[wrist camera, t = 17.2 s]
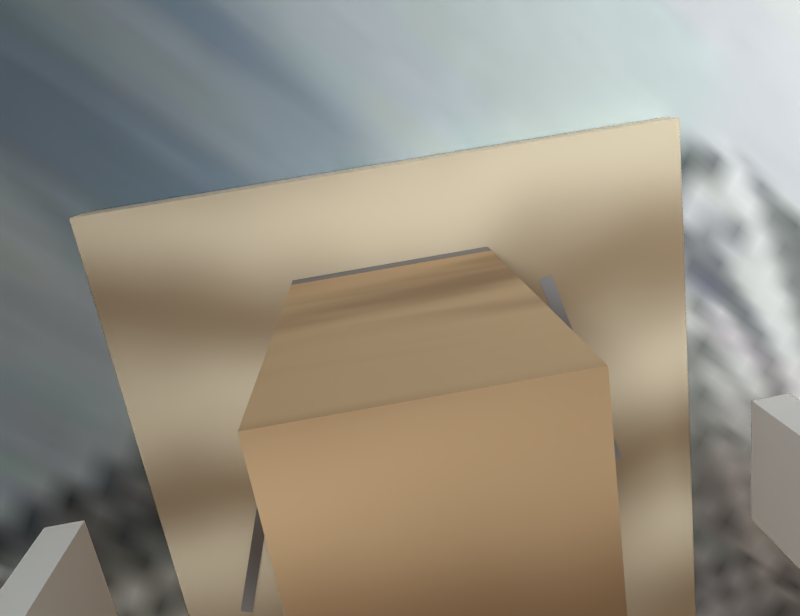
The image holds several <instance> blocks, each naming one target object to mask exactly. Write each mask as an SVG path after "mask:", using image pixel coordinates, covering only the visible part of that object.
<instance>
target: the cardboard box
mask: <svg viewBox="0 0 800 616" xmlns="http://www.w3.org/2000/svg"><path fill="white" fill-rule="evenodd" d="M238 435H239V439H240V443H241V447H242V451H243V454H244V458H245V462H246V466H247V470H248V474H249V478H250V482H251V485H252V489H253V493H254V497H255V501H256V505H257V509H258V512H259V516H260V520H261V524H262V528H263V532H264V536H265V540H266V543H267V547H268V551H269V555H270V559H271V563H272V567H273V570H274V574H275V578H276V582H277V586H278V590H279V594H280V598H281V601H282V605H283V609H284V613H285V616H627V606H626V593H625V579H624V566H623V553H622V540H621V527H620V514H619V501H618V488H617V475H616V462H615V449H614V436H613V423H612V410H611V397H610V384H609V371H608V365H607V364H606V363H605V362H604V361H603V360H602V359H601V358H600V357H599V356H598V355H597V354H596V353H595V352H594V351H593V350H592V349H591V348H590V347H589V346H588V345H587V344H586V343H585V342H584V341H583V340H582V339H581V338H580V337H579V336H578V335H577V334H576V333H575V332H574V331H573V330H572V329H571V328H570V327H568V326H567V325H566V324H565V323H564V322H563V321H562V320H561V319H560V318H559V317H558V316H557V315H556V314H555V313H554V312H553V311H552V310H551V309H550V308H549V307H548V306H547V305H546V304H545V303H544V302H543V301H542V300H541V299H540V298H539V297H538V296H537V295H536V294H535V293H534V292H533V291H532V290H531V289H530V288H529V287H528V286H527V285H526V284H525V283H524V282H523V281H522V280H521V279H520V278H519V277H518V276H517V275H516V274H515V273H514V272H513V271H512V270H511V269H510V268H509V267H508V266H507V265H506V264H505V263H504V262H503V261H502V260H501V259H500V258H499V257H498V256H497V255H496V254H495V253H494V252H493V251H492V250H491V249H490V248H489V247H481V248H475V249H470V250H464V251H458V252H453V253H447V254H441V255H435V256H430V257H424V258H418V259H412V260H407V261H401V262H395V263H389V264H384V265H378V266H372V267H366V268H361V269H355V270H349V271H343V272H338V273H332V274H326V275H321V276H315V277H309V278H303V279H298V280H293V281H292V283H291V286H290V289H289V292H288V294H287V297H286V300H285V303H284V305H283V308H282V311H281V314H280V316H279V319H278V322H277V325H276V327H275V330H274V333H273V336H272V338H271V341H270V344H269V347H268V349H267V352H266V355H265V358H264V360H263V363H262V366H261V369H260V371H259V374H258V377H257V380H256V382H255V385H254V388H253V391H252V393H251V396H250V399H249V402H248V404H247V407H246V410H245V413H244V416H243V418H242V421H241V424H240V427H239V429H238Z"/></svg>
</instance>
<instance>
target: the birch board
mask: <svg viewBox="0 0 800 616" xmlns="http://www.w3.org/2000/svg"><path fill="white" fill-rule="evenodd" d="M69 219H70V223H71V226H72V229H73V233H74V236H75V239H76V243H77V246H78V249H79V253H80V256H81V259H82V263H83V266H84V269H85V272H86V276H87V279H88V282H89V286H90V289H91V292H92V296H93V299H94V302H95V306H96V309H97V312H98V316H99V319H100V322H101V325H102V329H103V332H104V335H105V339H106V342H107V345H108V349H109V352H110V355H111V359H112V362H113V365H114V369H115V372H116V375H117V379H118V382H119V385H120V388H121V392H122V395H123V398H124V402H125V405H126V408H127V412H128V415H129V418H130V422H131V425H132V428H133V432H134V435H135V438H136V442H137V445H138V448H139V451H140V455H141V458H142V461H143V465H144V468H145V471H146V475H147V478H148V481H149V485H150V488H151V491H152V495H153V498H154V501H155V505H156V508H157V511H158V514H159V518H160V521H161V524H162V528H163V531H164V534H165V538H166V541H167V544H168V548H169V551H170V554H171V558H172V561H173V564H174V568H175V571H176V574H177V577H178V581H179V584H180V587H181V591H182V594H183V597H184V601H185V604H186V607H187V611H188V614H189V616H285V613H284V609H283V605H282V601H281V598H280V594H279V590H278V586H277V582H276V578H275V574H274V570H273V567H272V563H271V559H270V555H269V551H268V547H267V543H266V540H265V536H264V532H263V528H262V524H261V520H260V516H259V512H258V509H257V505H256V501H255V497H254V493H253V489H252V485H251V482H250V478H249V474H248V470H247V466H246V462H245V458H244V454H243V451H242V447H241V443H240V439H239V435H238V429H239V427H240V424H241V421H242V418H243V416H244V413H245V410H246V407H247V404H248V402H249V399H250V396H251V393H252V391H253V388H254V385H255V382H256V380H257V377H258V374H259V371H260V369H261V366H262V363H263V360H264V358H265V355H266V352H267V349H268V347H269V344H270V341H271V338H272V336H273V333H274V330H275V327H276V325H277V322H278V319H279V316H280V314H281V311H282V308H283V305H284V303H285V300H286V297H287V294H288V292H289V289H290V286H291V283H292V281H293V280H298V279H303V278H309V277H315V276H321V275H326V274H332V273H338V272H343V271H349V270H355V269H361V268H366V267H372V266H378V265H384V264H389V263H395V262H401V261H407V260H412V259H418V258H424V257H430V256H435V255H441V254H447V253H453V252H458V251H464V250H470V249H475V248H481V247H489V248H490V249H491V250H492V251H493V252H494V253H495V254H496V255H497V256H498V257H499V258H500V259H501V260H502V261H503V262H504V263H505V264H506V265H507V266H508V267H509V268H510V269H511V270H512V271H513V272H514V273H515V274H516V275H517V276H518V277H519V278H520V279H521V280H522V281H523V282H524V283H525V284H526V285H527V286H528V287H529V288H530V289H531V290H532V291H533V292H534V293H535V294H536V295H537V296H538V297H539V298H540V299H541V300H542V301H543V302H544V303H545V304H546V305H547V306H548V307H549V308H550V309H551V310H552V311H553V312H554V313H555V314H556V315H557V316H558V317H559V318H560V319H561V320H562V321H563V322H564V323H565V324H566V325H567V326H568V327H570V328H571V329H572V330H573V331H574V332H575V333H576V334H577V335H578V336H579V337H580V338H581V339H582V340H583V341H584V342H585V343H586V344H587V345H588V346H589V347H590V348H591V349H592V350H593V351H594V352H595V353H596V354H597V355H598V356H599V357H600V358H601V359H602V360H603V361H604V362H605V363H606V364H607V365H608V371H609V384H610V397H611V410H612V423H613V436H614V449H615V462H616V475H617V488H618V501H619V514H620V527H621V540H622V553H623V566H624V579H625V593H626V606H627V616H696V610H695V579H694V549H693V518H692V487H691V457H690V426H689V396H688V365H687V334H686V304H685V273H684V242H683V212H682V181H681V150H680V120H679V118H663V117H661V118H655V119H649V120H643V121H637V122H631V123H625V124H619V125H613V126H607V127H600V128H594V129H588V130H582V131H576V132H570V133H564V134H558V135H552V136H546V137H540V138H534V139H528V140H522V141H515V142H509V143H503V144H497V145H491V146H485V147H479V148H473V149H467V150H461V151H455V152H449V153H443V154H437V155H430V156H424V157H418V158H412V159H406V160H400V161H394V162H388V163H382V164H376V165H370V166H364V167H358V168H352V169H345V170H339V171H333V172H327V173H321V174H315V175H309V176H303V177H297V178H291V179H285V180H279V181H273V182H267V183H260V184H254V185H248V186H242V187H236V188H230V189H224V190H218V191H212V192H206V193H200V194H194V195H188V196H182V197H175V198H169V199H163V200H157V201H151V202H145V203H139V204H133V205H127V206H121V207H115V208H109V209H103V210H97V211H90V212H85V213H82V214H79V215H77V216H74V217H71V218H69Z"/></svg>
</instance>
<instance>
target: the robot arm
mask: <svg viewBox="0 0 800 616" xmlns="http://www.w3.org/2000/svg"><path fill="white" fill-rule="evenodd" d="M751 520H752V521H753V522H754V523H755V524H756V525H757V526H758V527H759V528H760V529H761V530H762V531H763V532H764V533H765V534H766V535H767V536H768V537H769V538H770V539H771V540H772V541H773V542H774V543H775V544H776V545H777V546H778V547H779V548H780V549H781V550H782V551H783V552H784V554H785V555H786V556H787V557H788V558H789V559H790V560H791V561H792V562H793V563H794V564H795V565H796V566H797V567H798V568H799V569H800V400H798V399H797V398H795V397H794V396H792V395H791V394H785V395H779V396H774V397H768V398H763V399H757V400H752V415H751ZM0 616H118V615H117V612H116V609H115V606H114V603H113V600H112V597H111V595H110V592H109V589H108V586H107V583H106V580H105V578H104V575H103V572H102V569H101V566H100V563H99V560H98V558H97V555H96V552H95V549H94V546H93V543H92V540H91V538H90V535H89V532H88V529H87V526H86V523H85V521H78V522H72V523H67V524H61V525H56V526H50V527H45V528H44V529H43V530H42V531H41V533H40V534H39V536H38V537H37V538H36V540H35V541H34V543H33V544H32V546H31V547H30V548H29V550H28V551H27V553H26V554H25V555H24V557H23V558H22V560H21V561H20V562H19V564H18V565H17V567H16V568H15V570H14V571H13V572H12V574H11V575H10V577H9V578H8V579H7V581H6V582H5V584H4V585H3V587H2V588H1V589H0Z"/></svg>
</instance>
